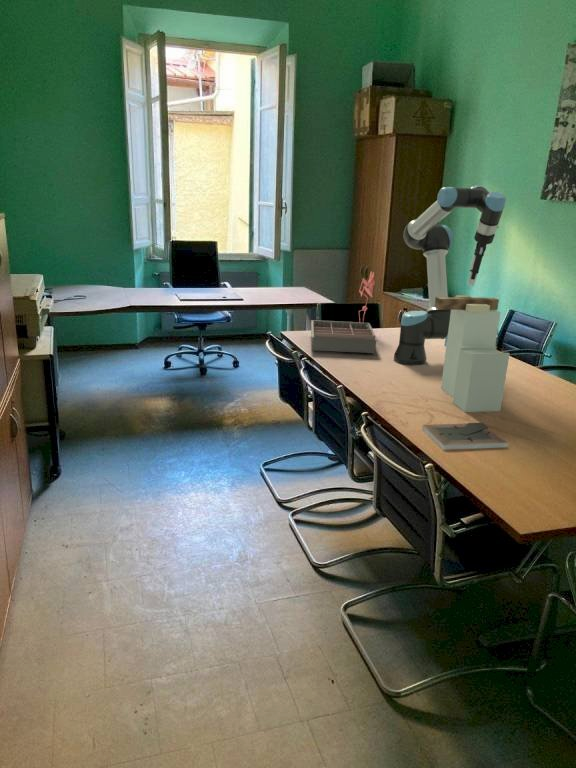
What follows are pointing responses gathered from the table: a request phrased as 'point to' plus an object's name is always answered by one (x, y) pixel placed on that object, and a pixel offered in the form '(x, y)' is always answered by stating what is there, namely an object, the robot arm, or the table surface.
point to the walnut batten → (463, 302)
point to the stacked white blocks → (467, 337)
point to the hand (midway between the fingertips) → (471, 277)
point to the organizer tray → (342, 336)
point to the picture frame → (464, 436)
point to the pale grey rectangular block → (480, 379)
